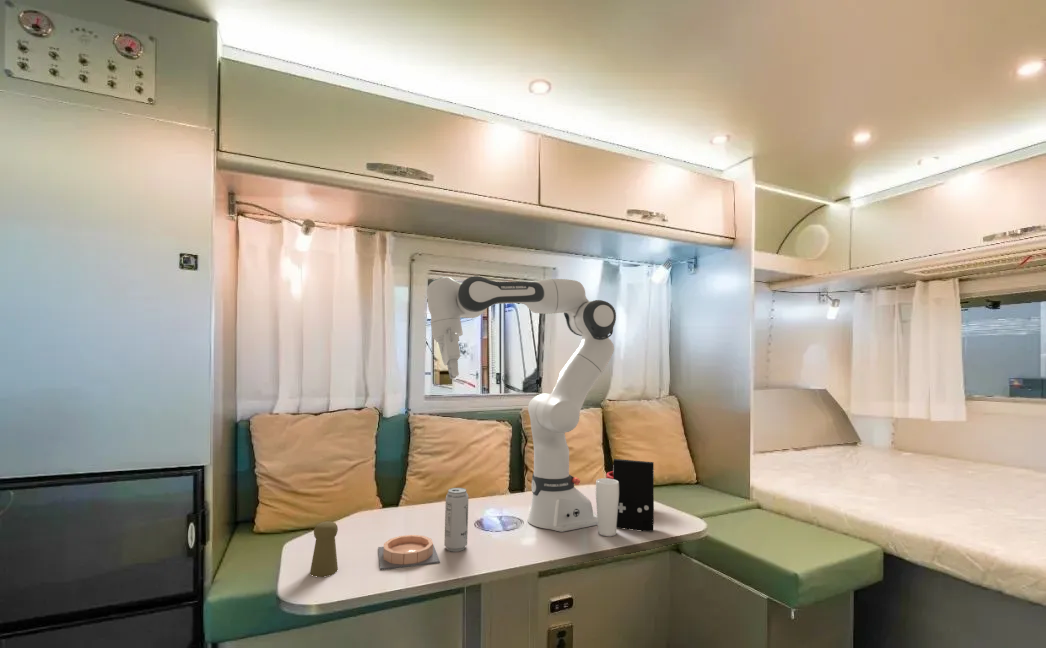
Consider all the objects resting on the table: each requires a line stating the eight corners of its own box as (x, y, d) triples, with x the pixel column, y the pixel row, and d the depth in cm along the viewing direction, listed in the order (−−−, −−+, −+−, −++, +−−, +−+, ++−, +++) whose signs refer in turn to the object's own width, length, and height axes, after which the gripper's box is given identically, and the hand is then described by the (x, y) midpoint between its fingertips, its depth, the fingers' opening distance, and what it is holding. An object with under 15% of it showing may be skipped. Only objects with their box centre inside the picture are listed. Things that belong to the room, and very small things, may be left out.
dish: (432, 542, 130) (432, 531, 130) (439, 562, 117) (440, 550, 118) (378, 548, 125) (378, 537, 125) (380, 569, 113) (380, 557, 113)
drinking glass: (618, 539, 135) (619, 484, 136) (594, 536, 136) (595, 483, 137) (619, 530, 142) (619, 479, 143) (595, 528, 143) (596, 477, 144)
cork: (315, 565, 114) (317, 518, 115) (341, 565, 115) (343, 518, 116) (305, 577, 108) (308, 527, 109) (333, 577, 109) (335, 527, 110)
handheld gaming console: (612, 527, 144) (612, 460, 145) (614, 523, 148) (614, 457, 149) (653, 533, 140) (653, 463, 141) (654, 528, 144) (654, 460, 146)
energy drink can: (466, 552, 124) (468, 493, 125) (443, 552, 123) (445, 493, 124) (467, 543, 130) (469, 487, 131) (445, 543, 129) (446, 487, 130)
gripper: (460, 323, 133) (468, 372, 131) (455, 335, 153) (462, 377, 151) (438, 326, 132) (445, 376, 130) (435, 338, 151) (442, 381, 149)
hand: (454, 377), depth 140 cm, fingers open, 8 cm apart
